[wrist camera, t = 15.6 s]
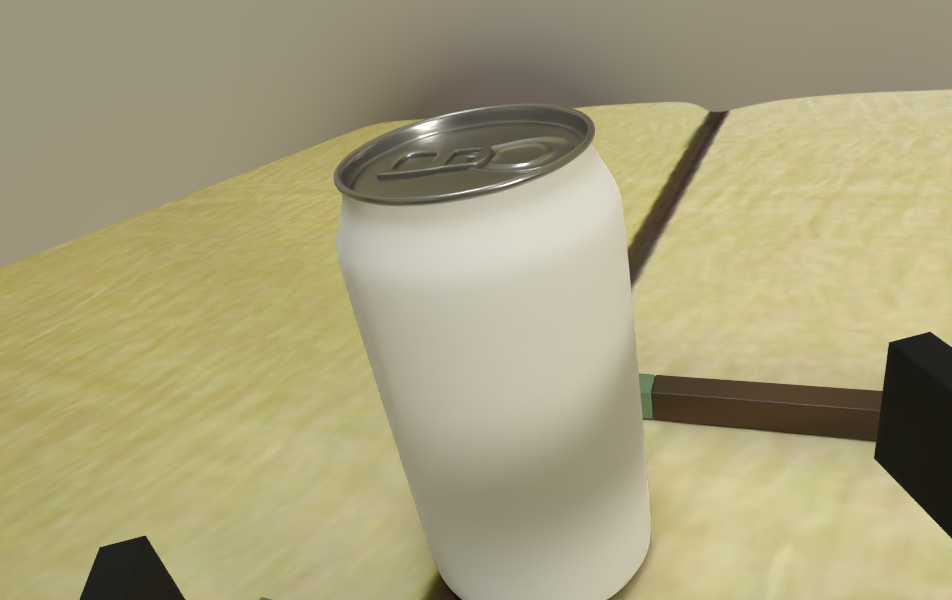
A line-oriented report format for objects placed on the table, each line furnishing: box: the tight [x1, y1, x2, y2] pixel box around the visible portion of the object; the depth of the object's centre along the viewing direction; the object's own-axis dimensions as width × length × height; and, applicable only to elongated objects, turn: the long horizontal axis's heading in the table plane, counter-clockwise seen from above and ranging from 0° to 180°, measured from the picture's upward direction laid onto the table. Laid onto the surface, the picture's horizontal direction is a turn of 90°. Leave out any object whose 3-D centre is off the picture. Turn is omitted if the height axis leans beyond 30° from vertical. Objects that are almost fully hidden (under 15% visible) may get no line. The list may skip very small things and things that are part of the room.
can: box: [334, 104, 651, 600], centre depth 18 cm, size 6×6×12 cm
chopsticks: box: [260, 374, 883, 600], centre depth 19 cm, size 24×12×1 cm, turn 69°
